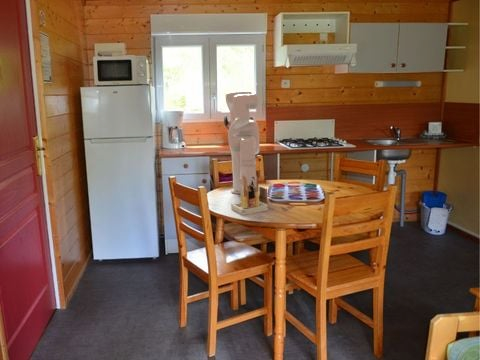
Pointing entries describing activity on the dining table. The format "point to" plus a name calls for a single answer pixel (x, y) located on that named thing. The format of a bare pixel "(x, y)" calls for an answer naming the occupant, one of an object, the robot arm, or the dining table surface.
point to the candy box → (245, 195)
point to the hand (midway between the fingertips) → (249, 197)
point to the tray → (249, 210)
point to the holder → (262, 194)
